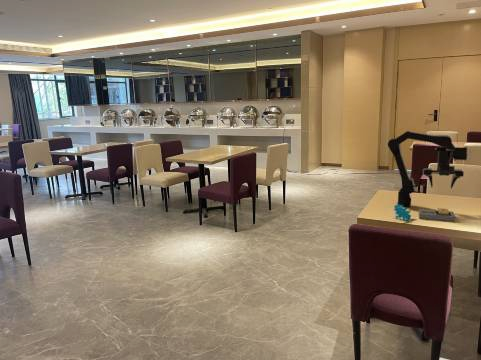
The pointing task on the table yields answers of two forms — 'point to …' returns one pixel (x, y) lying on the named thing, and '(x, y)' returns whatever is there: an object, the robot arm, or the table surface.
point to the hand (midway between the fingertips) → (441, 187)
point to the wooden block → (443, 211)
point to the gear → (402, 212)
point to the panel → (435, 215)
